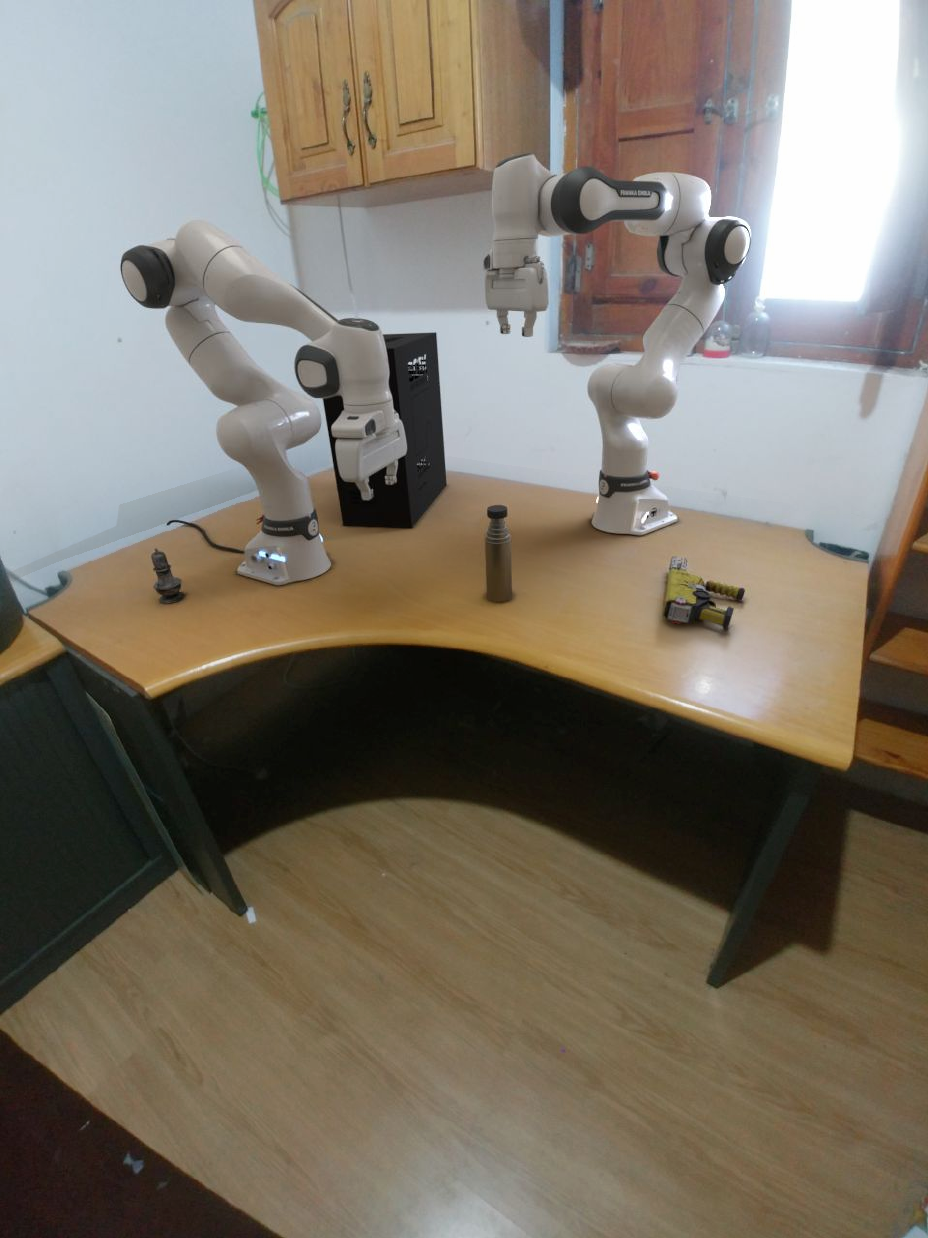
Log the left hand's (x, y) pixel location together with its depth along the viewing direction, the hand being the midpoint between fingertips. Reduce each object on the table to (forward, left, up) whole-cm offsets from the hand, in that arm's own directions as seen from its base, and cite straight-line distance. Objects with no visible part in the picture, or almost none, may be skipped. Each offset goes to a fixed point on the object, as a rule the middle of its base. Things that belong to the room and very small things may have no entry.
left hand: (380, 491), depth 117 cm
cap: (+21, +8, -5) cm, 23 cm away
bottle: (+21, +8, -24) cm, 33 cm away
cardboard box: (-27, +56, -24) cm, 67 cm away
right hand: (+17, +33, +24) cm, 44 cm away
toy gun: (+61, +17, -24) cm, 68 cm away
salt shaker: (-49, -13, -24) cm, 56 cm away
